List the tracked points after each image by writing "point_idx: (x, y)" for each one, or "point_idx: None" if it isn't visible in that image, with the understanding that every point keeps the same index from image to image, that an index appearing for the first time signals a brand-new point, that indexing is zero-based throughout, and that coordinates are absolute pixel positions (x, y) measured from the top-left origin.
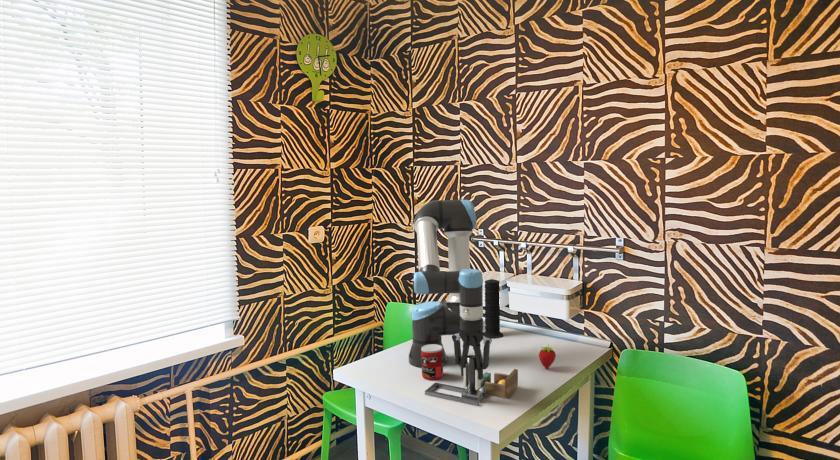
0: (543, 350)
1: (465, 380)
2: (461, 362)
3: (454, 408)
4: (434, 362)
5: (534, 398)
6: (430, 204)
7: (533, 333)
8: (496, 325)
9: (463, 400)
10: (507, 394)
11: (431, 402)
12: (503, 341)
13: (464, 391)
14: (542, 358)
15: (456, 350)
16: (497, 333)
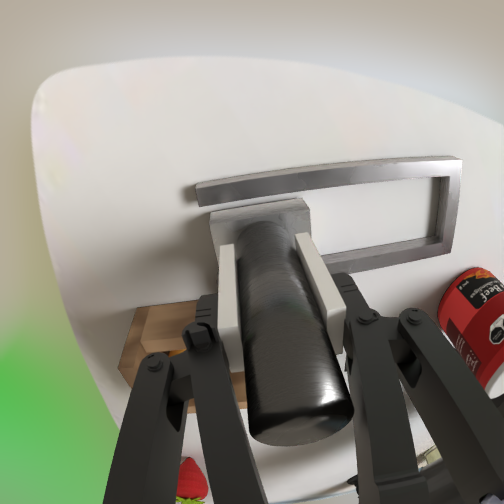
0: (188, 498)
1: (305, 256)
2: (380, 336)
3: (280, 95)
4: (491, 322)
5: (87, 348)
6: None
7: (299, 499)
8: None
9: (275, 173)
10: (136, 319)
11: (402, 99)
12: (339, 476)
13: (302, 230)
14: (186, 479)
15: (471, 405)
16: (357, 482)
